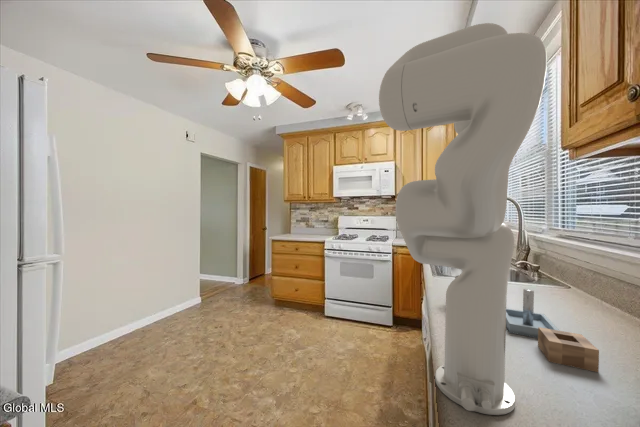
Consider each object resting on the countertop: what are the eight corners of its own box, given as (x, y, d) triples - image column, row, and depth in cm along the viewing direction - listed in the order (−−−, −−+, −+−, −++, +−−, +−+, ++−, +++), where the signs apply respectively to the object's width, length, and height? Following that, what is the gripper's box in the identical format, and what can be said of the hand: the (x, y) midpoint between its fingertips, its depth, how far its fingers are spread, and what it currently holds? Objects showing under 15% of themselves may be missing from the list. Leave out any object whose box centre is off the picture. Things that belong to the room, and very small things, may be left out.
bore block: (598, 372, 54) (599, 350, 54) (548, 361, 57) (549, 341, 57) (580, 353, 61) (581, 334, 61) (537, 345, 64) (538, 327, 64)
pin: (534, 327, 73) (535, 291, 73) (523, 325, 74) (524, 290, 74) (532, 323, 75) (532, 289, 75) (521, 322, 76) (522, 288, 76)
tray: (561, 342, 66) (561, 332, 66) (509, 332, 71) (509, 323, 71) (543, 322, 79) (544, 314, 79) (500, 315, 84) (500, 307, 84)
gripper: (508, 155, 56) (506, 234, 56) (495, 168, 72) (494, 230, 72) (468, 158, 60) (467, 232, 60) (464, 170, 75) (463, 228, 75)
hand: (481, 231), depth 66 cm, fingers open, 9 cm apart
